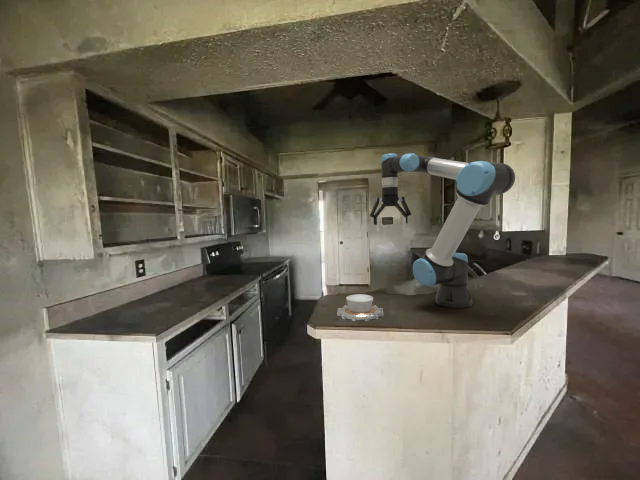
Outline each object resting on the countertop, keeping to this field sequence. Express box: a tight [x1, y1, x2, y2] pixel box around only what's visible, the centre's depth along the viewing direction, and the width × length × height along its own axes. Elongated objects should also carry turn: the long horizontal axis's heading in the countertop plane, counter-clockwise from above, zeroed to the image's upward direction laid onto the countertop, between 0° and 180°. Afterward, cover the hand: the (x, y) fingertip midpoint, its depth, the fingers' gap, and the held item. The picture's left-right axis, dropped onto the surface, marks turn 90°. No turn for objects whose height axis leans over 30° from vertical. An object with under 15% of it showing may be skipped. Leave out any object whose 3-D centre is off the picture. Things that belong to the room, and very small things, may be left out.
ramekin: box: [345, 293, 374, 313], centre depth 132 cm, size 11×11×5 cm
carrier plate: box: [336, 304, 385, 322], centre depth 133 cm, size 19×19×2 cm
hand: (390, 231), depth 154 cm, fingers open, 13 cm apart
